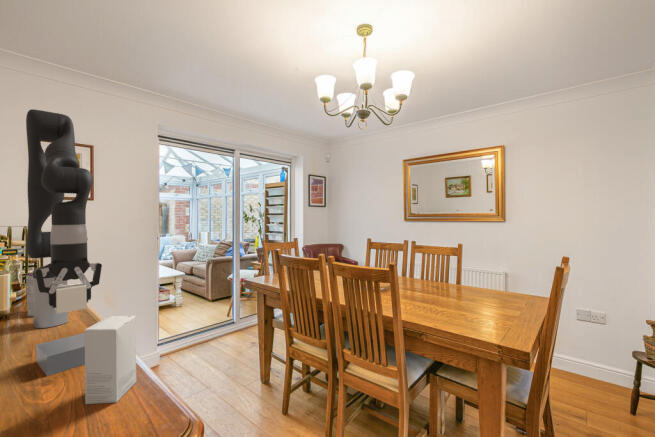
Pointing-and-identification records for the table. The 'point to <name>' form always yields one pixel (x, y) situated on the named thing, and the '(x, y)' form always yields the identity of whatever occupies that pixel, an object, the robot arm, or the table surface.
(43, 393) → the table surface
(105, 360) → the skincare box
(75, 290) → the cream block
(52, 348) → the slate block
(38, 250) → the robot arm
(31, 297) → the candy bar box
